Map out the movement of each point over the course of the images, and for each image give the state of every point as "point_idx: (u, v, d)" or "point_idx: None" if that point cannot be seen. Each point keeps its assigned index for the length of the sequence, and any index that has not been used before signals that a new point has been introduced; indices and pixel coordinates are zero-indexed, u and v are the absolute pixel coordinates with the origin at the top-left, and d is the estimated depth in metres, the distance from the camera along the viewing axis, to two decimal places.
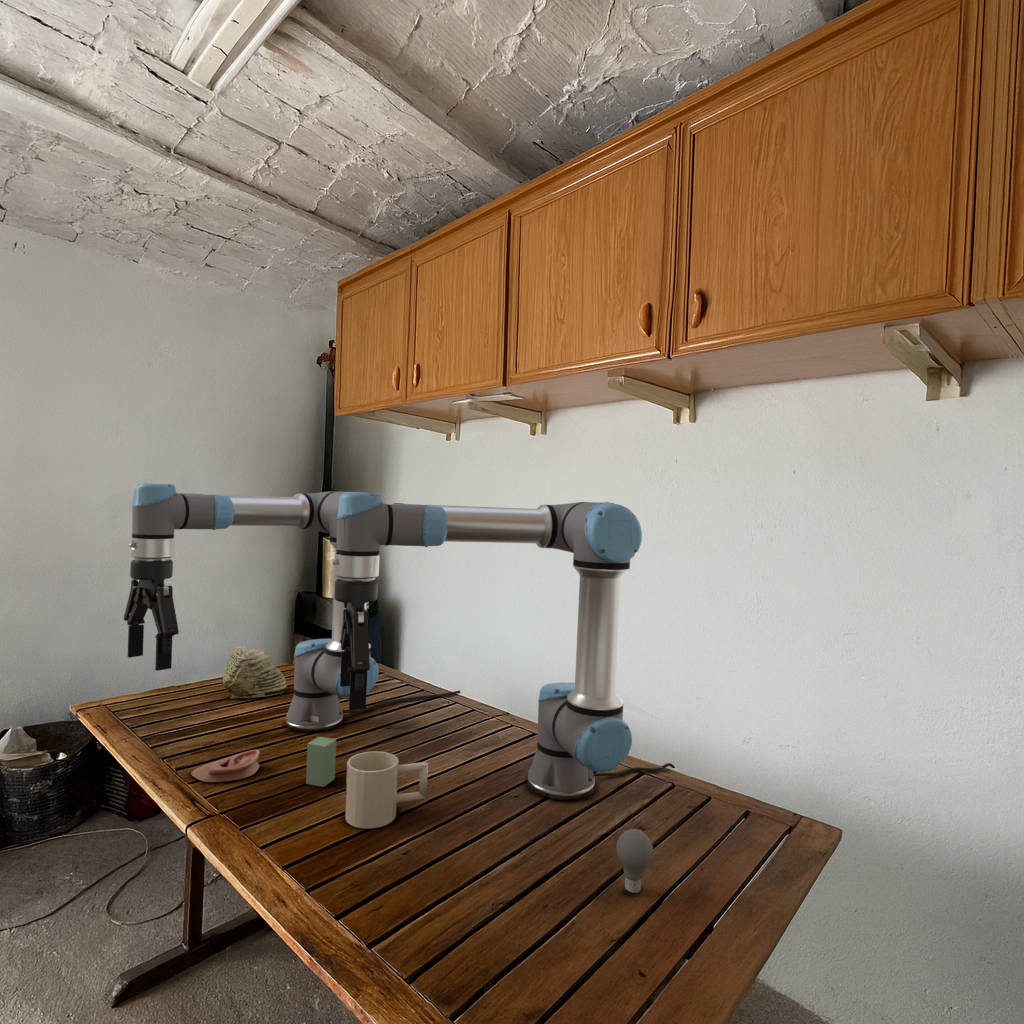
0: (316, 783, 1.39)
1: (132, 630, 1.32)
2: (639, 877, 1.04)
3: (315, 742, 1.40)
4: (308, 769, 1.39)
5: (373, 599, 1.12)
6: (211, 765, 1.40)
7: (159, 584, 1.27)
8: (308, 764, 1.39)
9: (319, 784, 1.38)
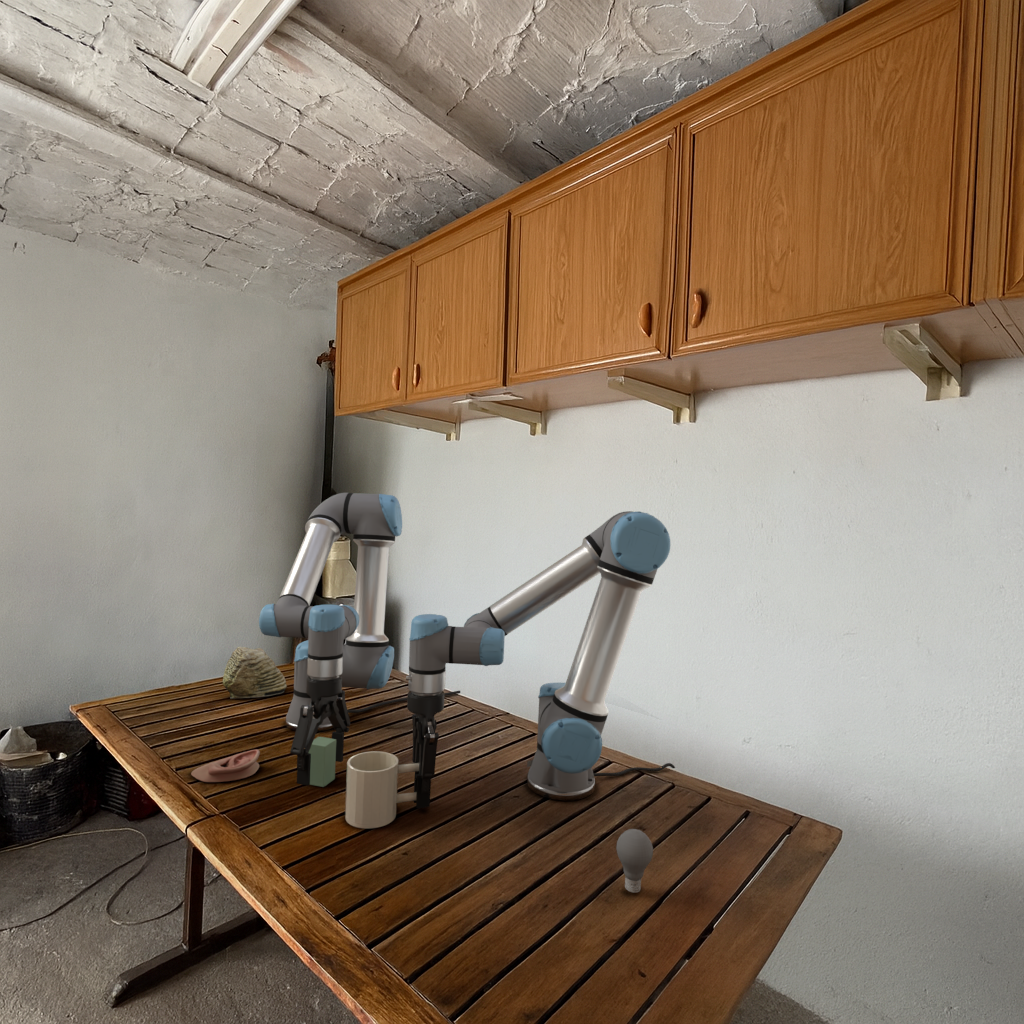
0: (316, 783, 1.39)
1: (333, 736, 1.47)
2: (639, 877, 1.04)
3: (315, 742, 1.40)
4: None
5: (441, 710, 1.29)
6: (211, 765, 1.40)
7: (314, 702, 1.37)
8: None
9: (319, 784, 1.38)
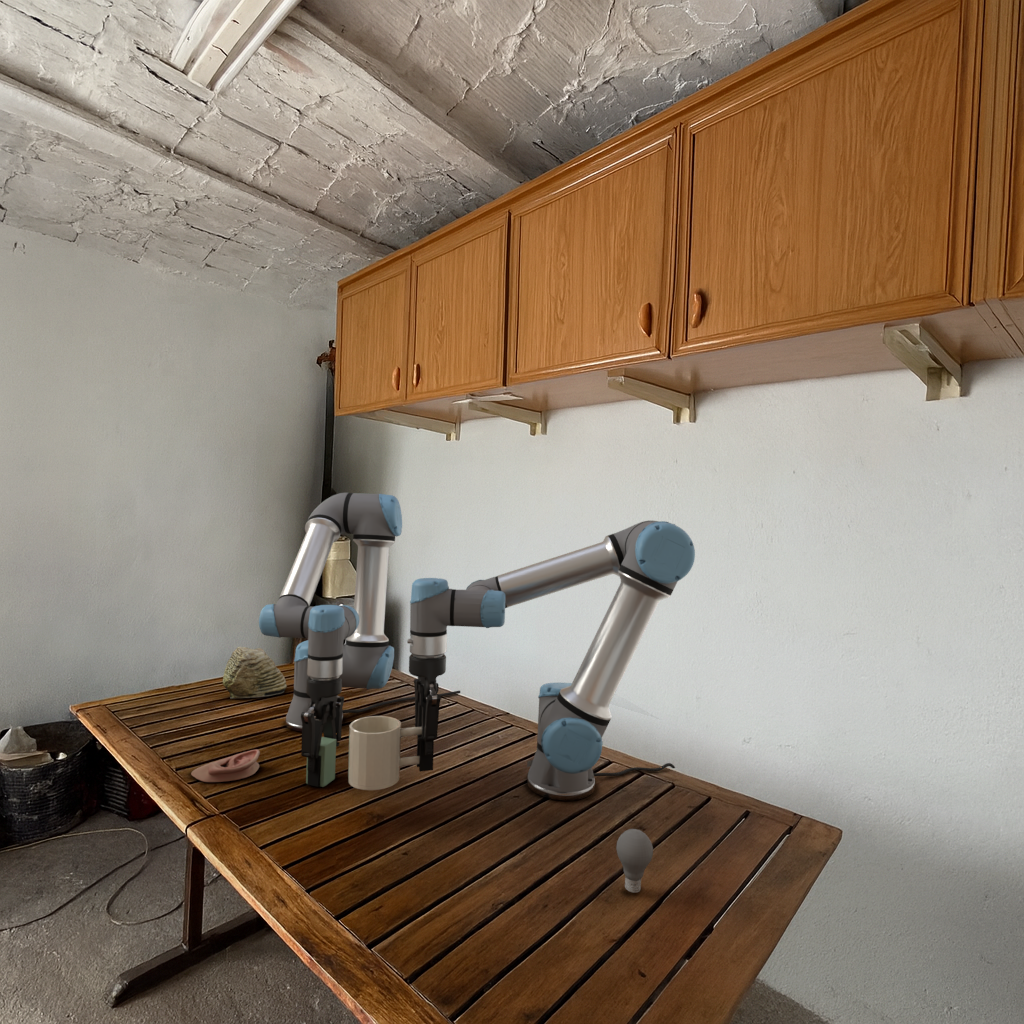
0: None
1: None
2: (639, 877, 1.04)
3: None
4: None
5: (443, 672, 1.29)
6: (211, 765, 1.40)
7: (314, 702, 1.37)
8: None
9: None
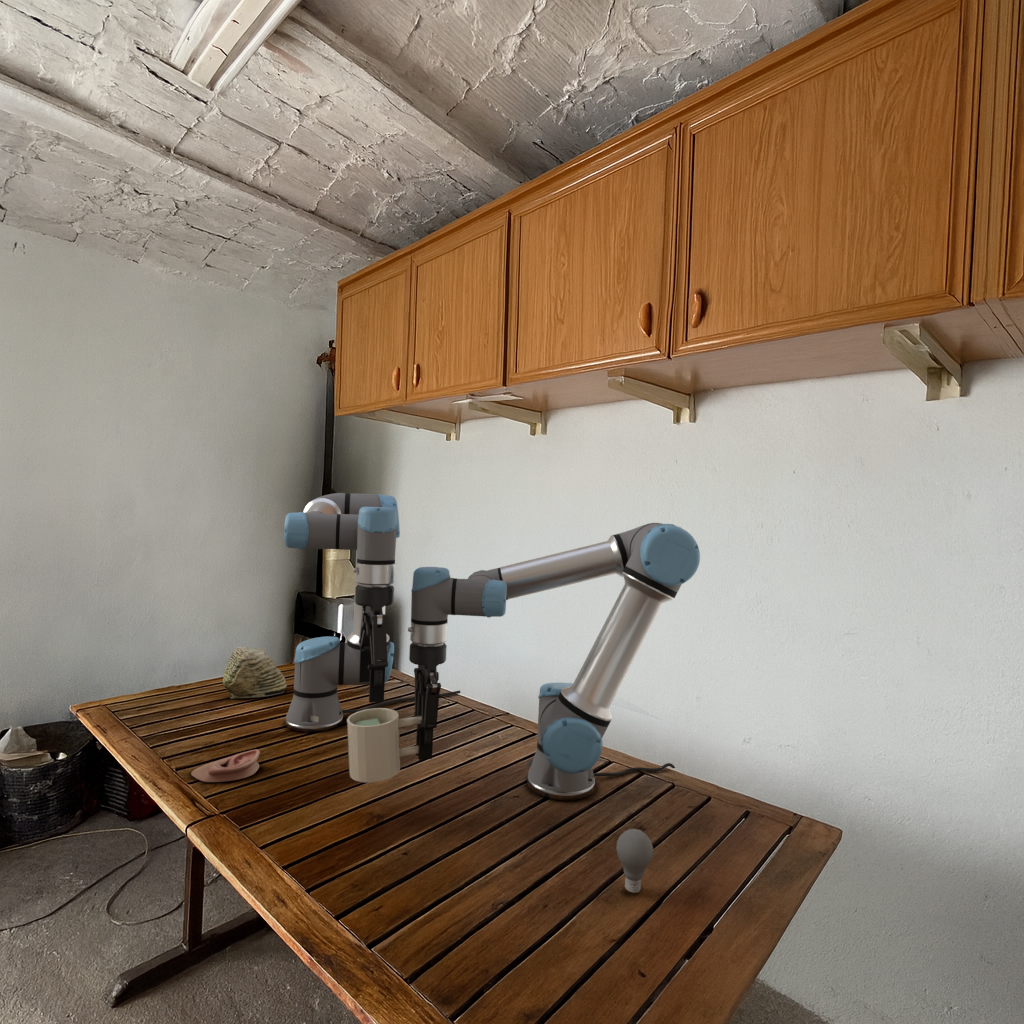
0: None
1: (363, 655, 1.32)
2: (639, 877, 1.04)
3: None
4: None
5: (443, 661, 1.29)
6: (211, 765, 1.40)
7: (377, 612, 1.22)
8: None
9: None
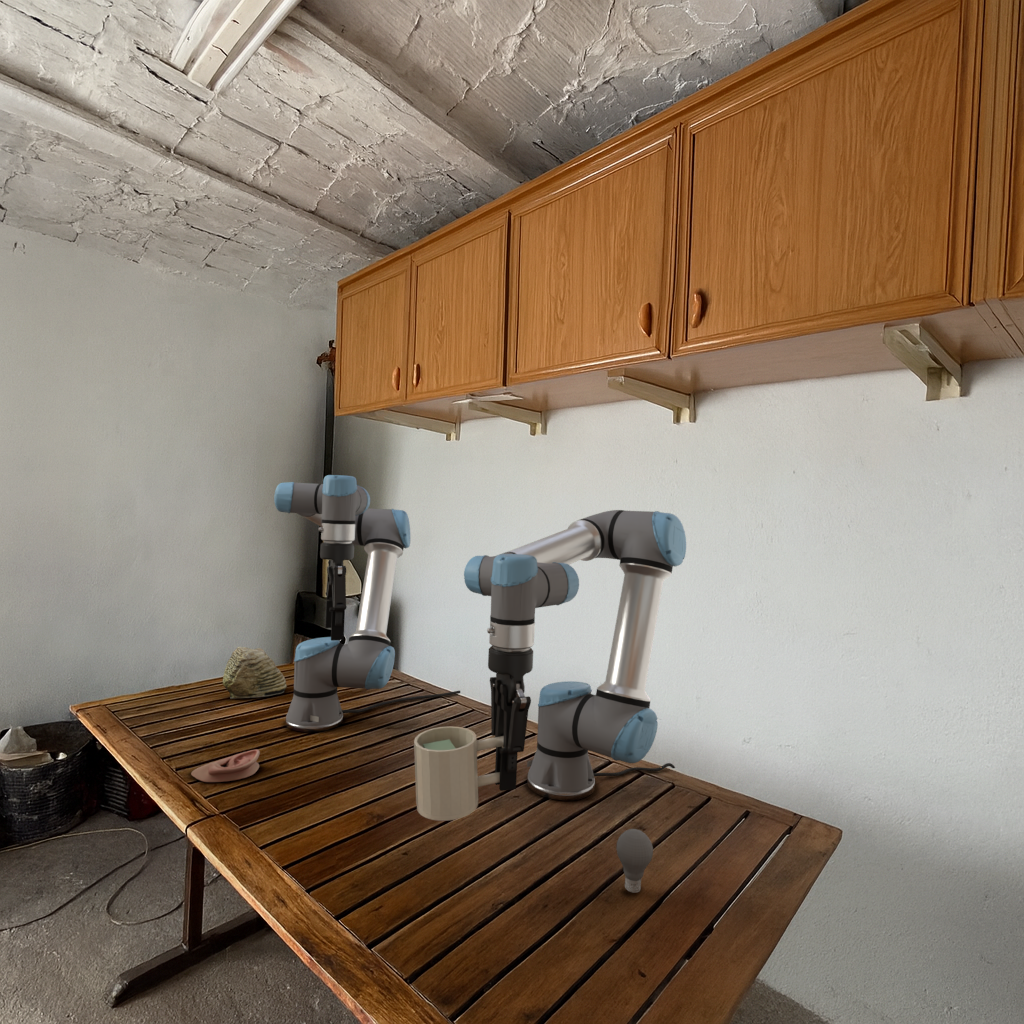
0: None
1: (328, 604, 1.52)
2: (639, 877, 1.04)
3: None
4: None
5: (530, 670, 1.05)
6: (211, 765, 1.40)
7: (338, 564, 1.43)
8: None
9: None
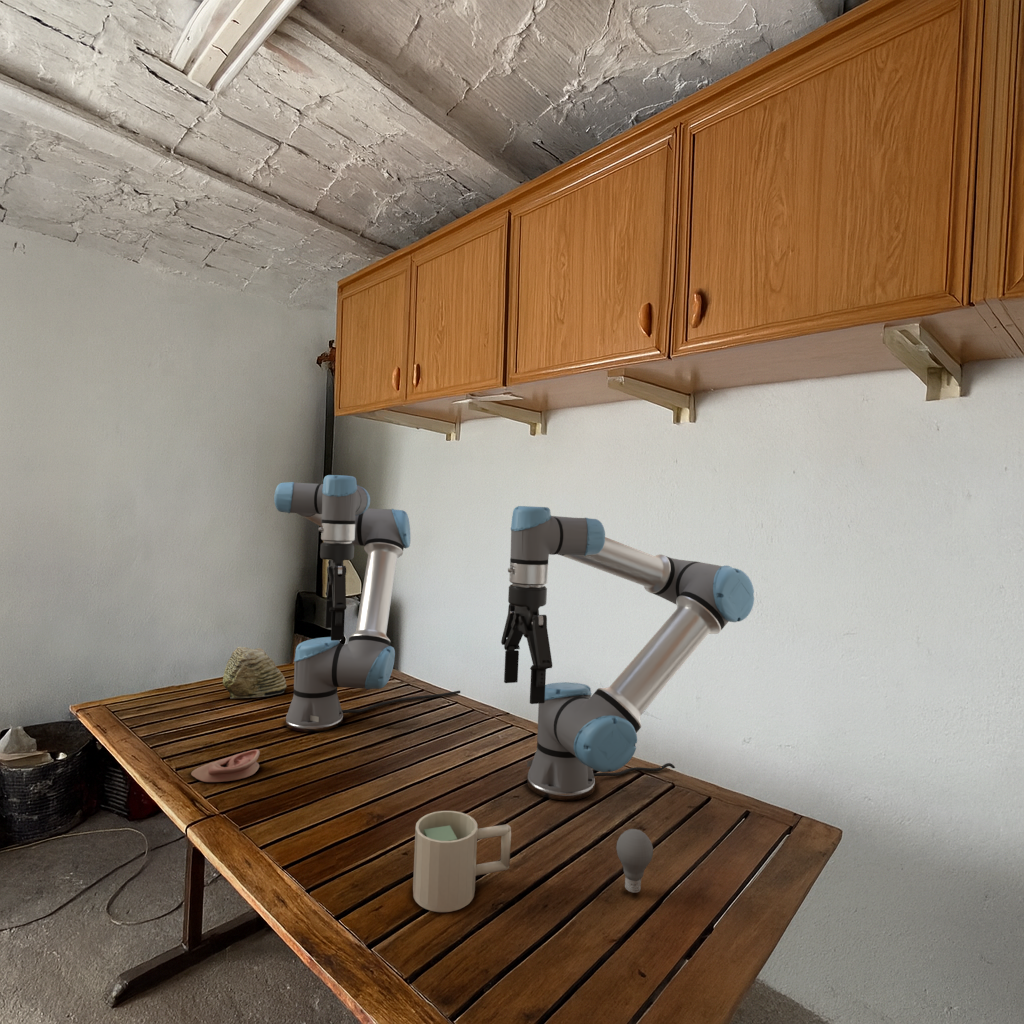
0: None
1: (328, 604, 1.52)
2: (639, 877, 1.04)
3: (436, 838, 1.01)
4: None
5: (545, 603, 1.23)
6: (211, 765, 1.40)
7: (338, 564, 1.43)
8: None
9: None
